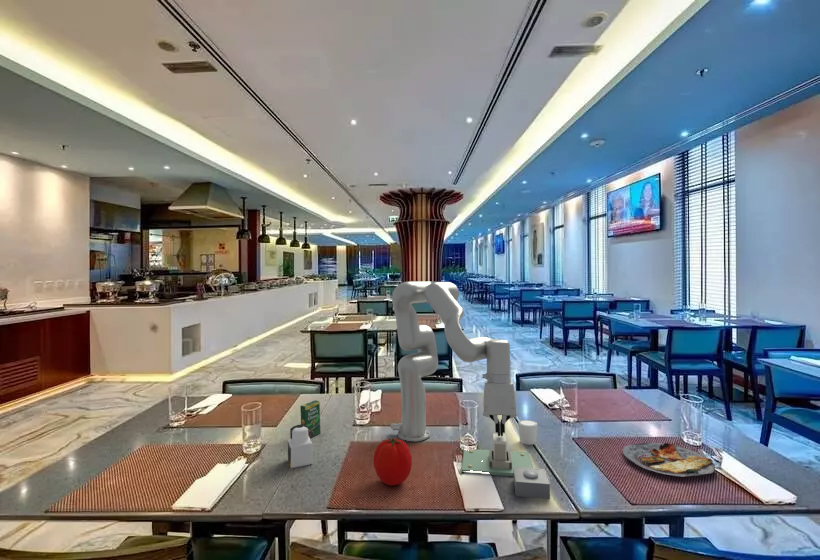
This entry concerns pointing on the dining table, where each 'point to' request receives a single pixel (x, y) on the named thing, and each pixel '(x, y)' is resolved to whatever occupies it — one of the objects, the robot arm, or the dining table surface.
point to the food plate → (669, 459)
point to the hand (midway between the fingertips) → (500, 434)
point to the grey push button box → (531, 482)
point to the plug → (499, 447)
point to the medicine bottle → (299, 447)
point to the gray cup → (528, 431)
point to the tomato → (392, 461)
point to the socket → (500, 463)
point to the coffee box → (311, 417)
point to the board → (476, 456)
